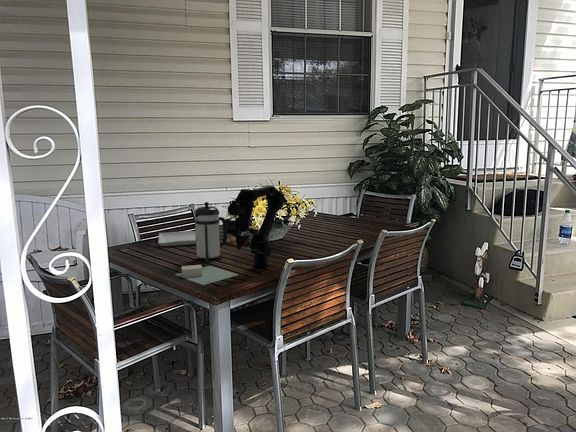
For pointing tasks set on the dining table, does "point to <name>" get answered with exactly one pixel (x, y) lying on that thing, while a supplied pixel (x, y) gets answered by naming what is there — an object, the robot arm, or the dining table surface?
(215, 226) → the coffee press
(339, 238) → the dining table surface
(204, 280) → the rubber mat
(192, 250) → the dining table surface
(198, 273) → the card box
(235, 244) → the sunglasses case
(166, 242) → the square plate
